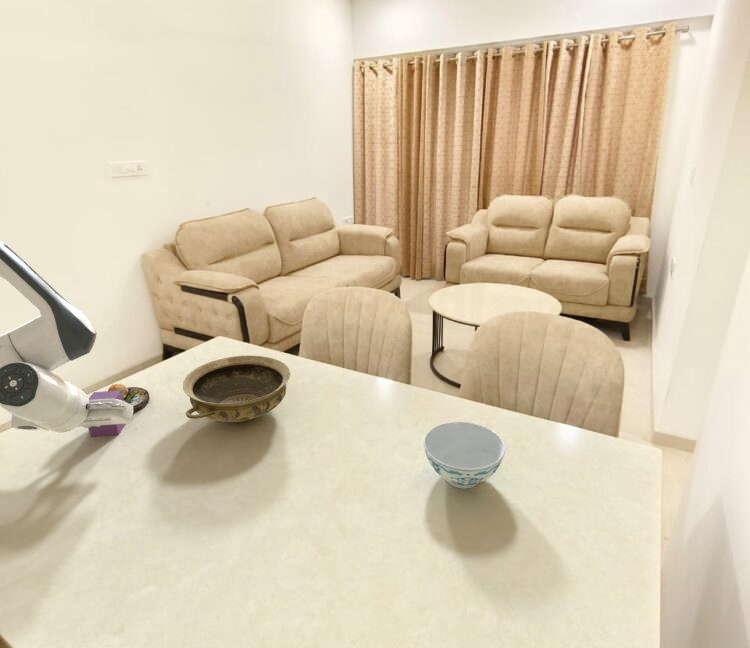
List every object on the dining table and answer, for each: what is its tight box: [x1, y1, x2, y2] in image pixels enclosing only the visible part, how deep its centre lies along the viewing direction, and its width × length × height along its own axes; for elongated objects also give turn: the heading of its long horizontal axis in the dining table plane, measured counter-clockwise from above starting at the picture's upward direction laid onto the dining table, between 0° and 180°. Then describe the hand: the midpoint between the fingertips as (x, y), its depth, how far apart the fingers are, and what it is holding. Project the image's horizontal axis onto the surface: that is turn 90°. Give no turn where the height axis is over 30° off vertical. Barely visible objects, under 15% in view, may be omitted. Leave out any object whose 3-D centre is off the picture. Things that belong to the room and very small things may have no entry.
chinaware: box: [423, 421, 506, 489], centre depth 95 cm, size 15×15×8 cm
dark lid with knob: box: [107, 383, 150, 413], centre depth 122 cm, size 12×12×8 cm
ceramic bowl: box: [182, 354, 291, 423], centre depth 117 cm, size 30×24×10 cm
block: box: [88, 390, 126, 438], centre depth 113 cm, size 6×6×8 cm
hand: (93, 423), depth 107 cm, fingers closed
